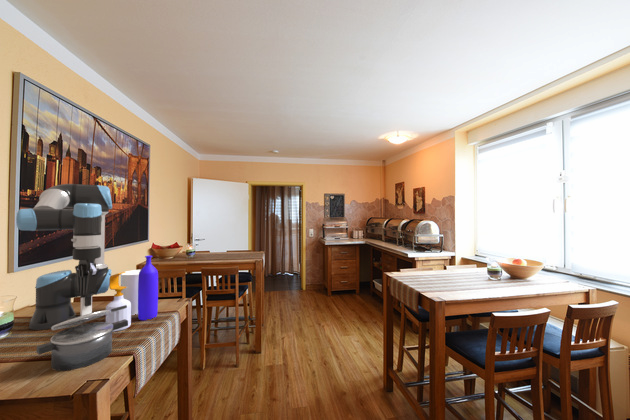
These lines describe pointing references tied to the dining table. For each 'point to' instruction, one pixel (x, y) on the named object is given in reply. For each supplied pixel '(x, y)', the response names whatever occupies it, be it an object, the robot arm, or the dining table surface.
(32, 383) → the dining table surface
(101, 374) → the dining table surface
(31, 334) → the dining table surface
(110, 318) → the soap bottle
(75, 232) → the robot arm
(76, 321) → the lid
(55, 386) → the dining table surface
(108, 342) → the pot
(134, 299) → the canister
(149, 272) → the bottle
